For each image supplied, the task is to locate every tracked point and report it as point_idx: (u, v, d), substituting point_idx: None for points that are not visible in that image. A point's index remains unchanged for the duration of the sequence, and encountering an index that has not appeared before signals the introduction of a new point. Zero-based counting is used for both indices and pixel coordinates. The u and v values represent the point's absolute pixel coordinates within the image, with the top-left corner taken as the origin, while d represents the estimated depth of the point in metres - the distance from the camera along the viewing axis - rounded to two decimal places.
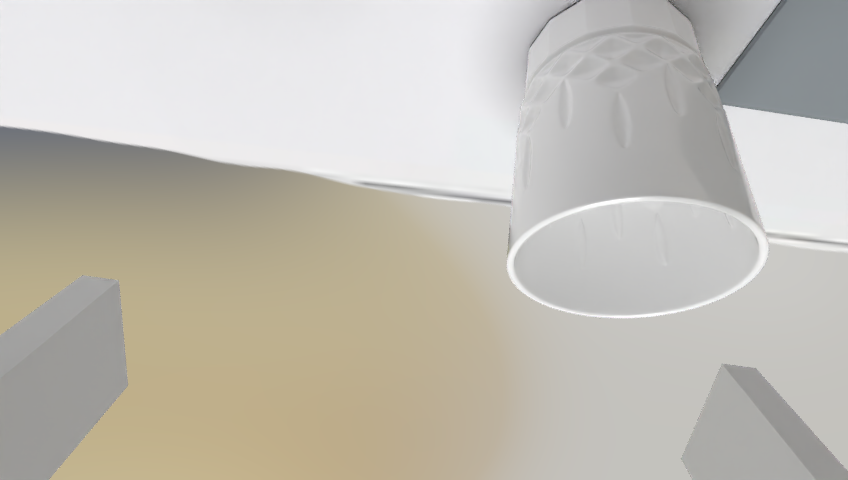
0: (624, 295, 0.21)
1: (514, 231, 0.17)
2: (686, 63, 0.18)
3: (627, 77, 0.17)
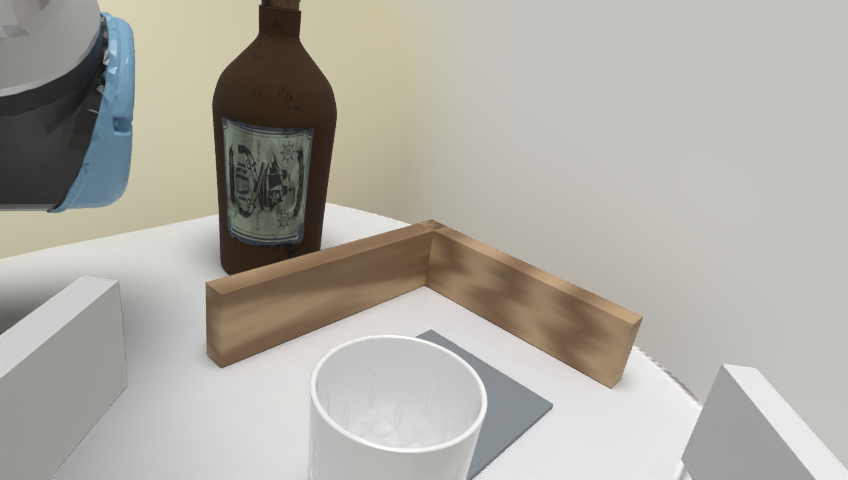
0: None
1: (324, 428, 0.22)
2: None
3: None
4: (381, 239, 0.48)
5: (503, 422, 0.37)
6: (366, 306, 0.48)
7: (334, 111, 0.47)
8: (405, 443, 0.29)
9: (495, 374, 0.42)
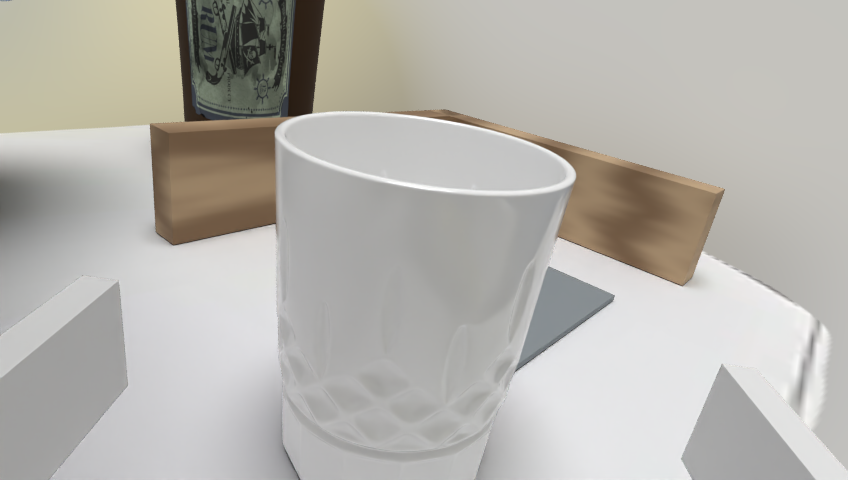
0: None
1: (296, 176, 0.12)
2: None
3: None
4: None
5: (553, 309, 0.27)
6: None
7: None
8: None
9: None
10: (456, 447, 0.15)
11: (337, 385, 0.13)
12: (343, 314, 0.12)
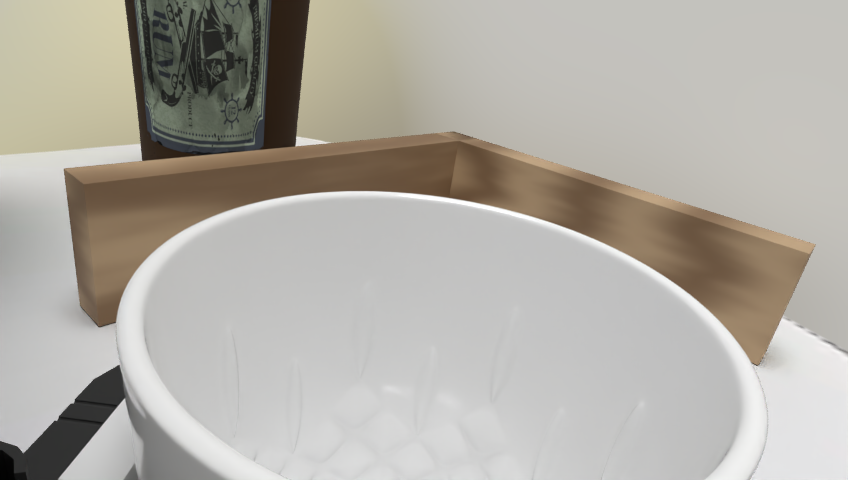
0: (708, 423, 0.07)
1: (139, 432, 0.05)
2: None
3: None
4: (381, 143, 0.32)
5: None
6: None
7: None
8: (440, 464, 0.13)
9: None
10: None
11: None
12: None
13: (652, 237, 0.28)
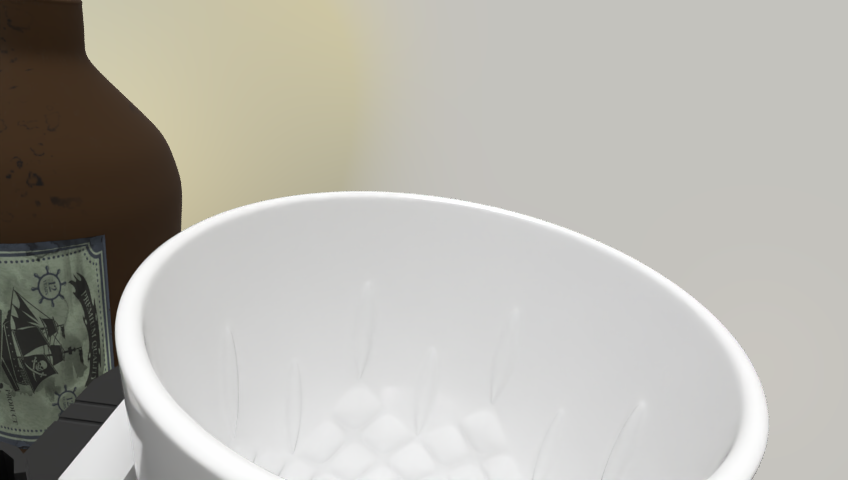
0: (708, 423, 0.07)
1: (138, 434, 0.05)
2: None
3: None
4: None
5: None
6: None
7: (164, 193, 0.25)
8: (439, 464, 0.13)
9: None
10: None
11: None
12: None
13: None
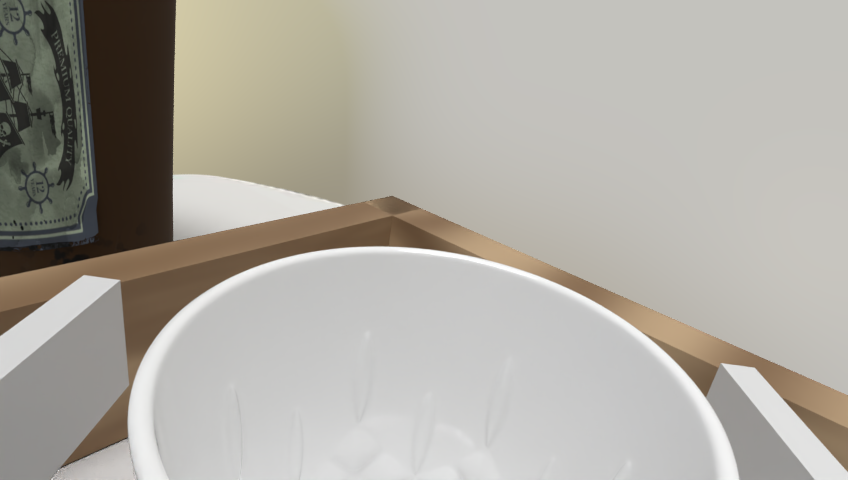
0: None
1: None
2: None
3: None
4: (266, 233, 0.21)
5: None
6: None
7: None
8: None
9: None
10: None
11: None
12: None
13: None
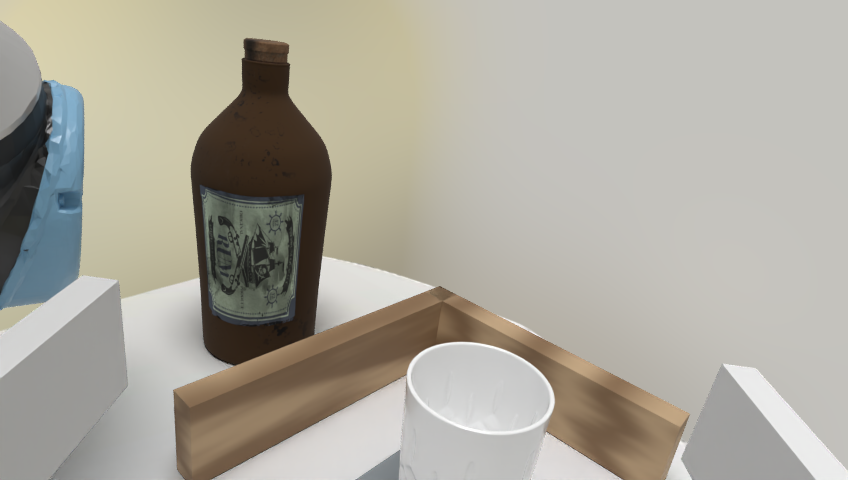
0: None
1: (424, 417, 0.26)
2: None
3: None
4: (382, 316, 0.42)
5: None
6: (366, 392, 0.42)
7: (328, 173, 0.42)
8: None
9: None
10: None
11: None
12: (444, 478, 0.27)
13: (580, 397, 0.39)
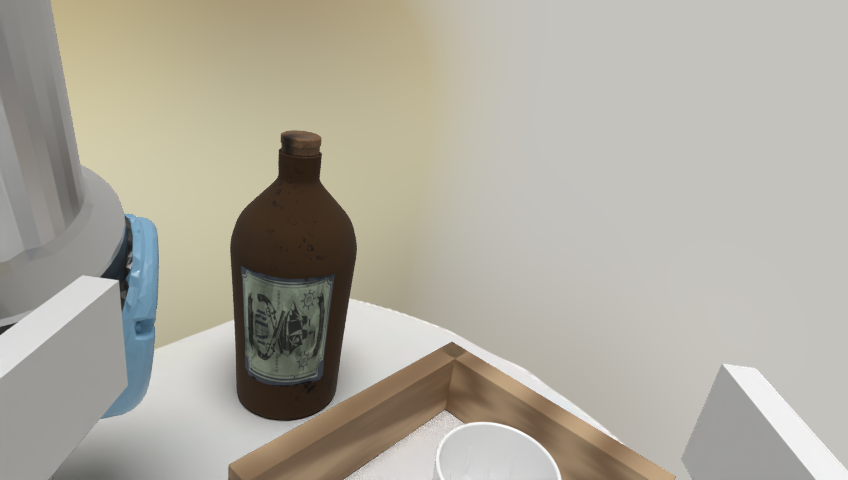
0: None
1: None
2: None
3: None
4: (403, 378, 0.47)
5: None
6: (388, 446, 0.47)
7: (354, 249, 0.46)
8: None
9: None
10: None
11: None
12: None
13: (579, 456, 0.44)
